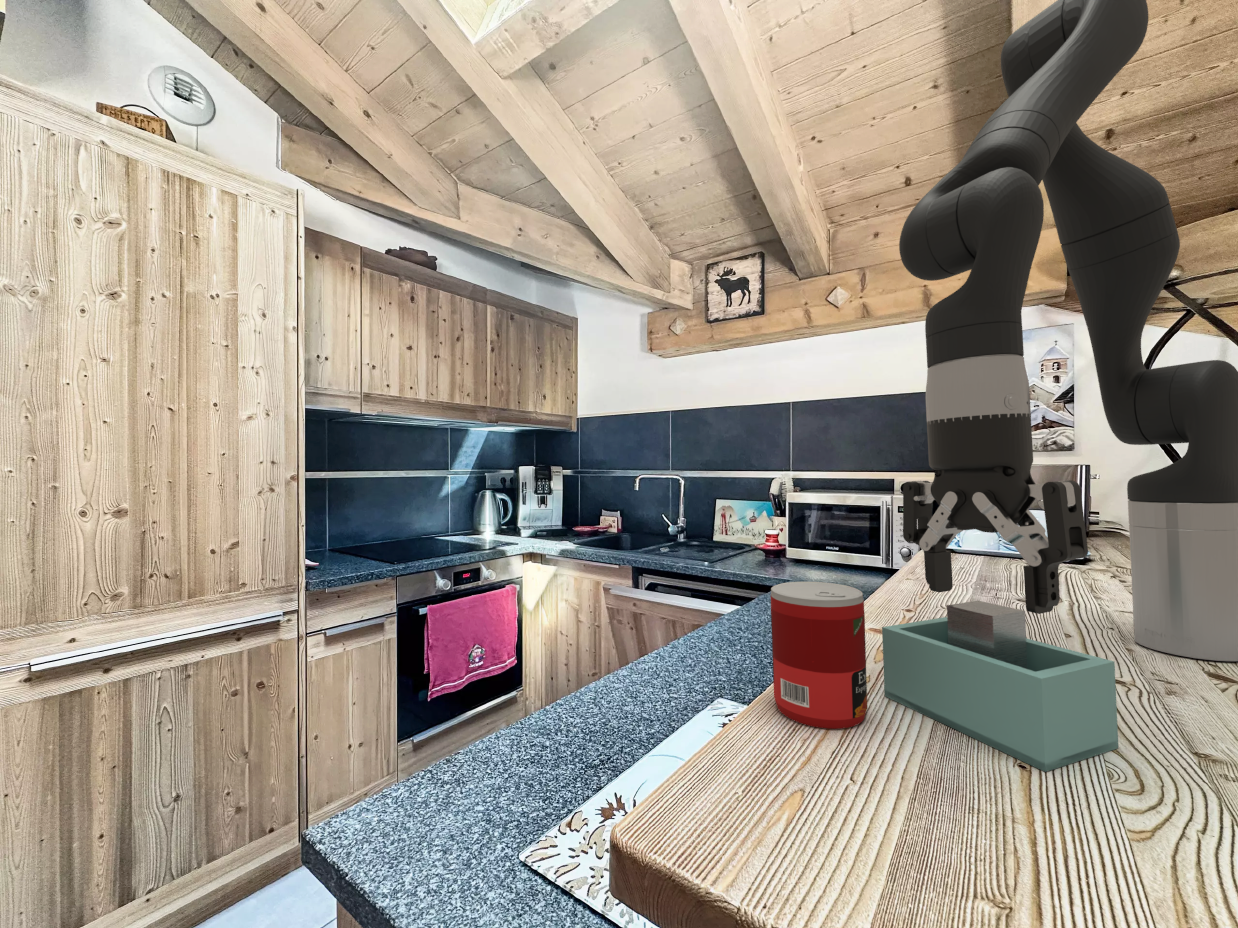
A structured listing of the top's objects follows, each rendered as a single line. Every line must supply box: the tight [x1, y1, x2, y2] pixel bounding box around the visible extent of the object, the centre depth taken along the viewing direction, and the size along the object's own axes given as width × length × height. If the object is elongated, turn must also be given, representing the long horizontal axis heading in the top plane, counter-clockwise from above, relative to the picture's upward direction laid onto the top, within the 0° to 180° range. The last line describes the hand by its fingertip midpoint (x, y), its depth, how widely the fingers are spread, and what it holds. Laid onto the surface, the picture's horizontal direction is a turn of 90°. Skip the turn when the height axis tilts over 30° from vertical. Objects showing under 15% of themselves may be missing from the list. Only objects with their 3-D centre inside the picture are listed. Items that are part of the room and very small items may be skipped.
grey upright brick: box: [946, 600, 1027, 669], centre depth 45 cm, size 4×4×9 cm
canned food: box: [770, 581, 868, 730], centre depth 48 cm, size 8×8×11 cm
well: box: [881, 616, 1119, 773], centre depth 45 cm, size 8×14×7 cm, turn 20°
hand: (985, 600), depth 46 cm, fingers open, 8 cm apart
